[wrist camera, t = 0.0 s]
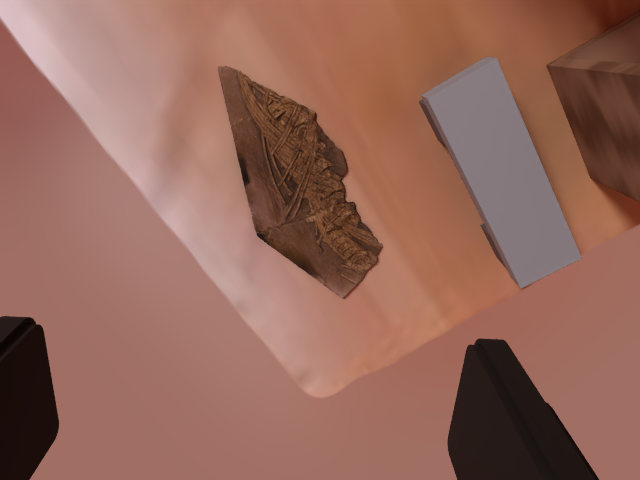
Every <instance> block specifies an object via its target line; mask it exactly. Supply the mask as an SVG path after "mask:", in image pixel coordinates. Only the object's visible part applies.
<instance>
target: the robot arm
mask: <svg viewBox="0 0 640 480" xmlns="http://www.w3.org/2000/svg"><path fill="white" fill-rule="evenodd" d="M58 429H59V420H58V414H57V408H56V402H55V396H54V390H53V384H52V378H51V372H50V366H49V360H48V354H47V348H46V343H45V336H44V331H43V328H42V326H41V325H37V324H36V322H35V321H34V319H32V318H30V317H9V316H4V317H0V480H29V479H30V478H31V476H32V475H33V473H34V472H35V470H36V469H37V467H38V465H39V464H40V462H41V460H42V459H43V458H44V456H45V454H46V453H47V451H48V450H49V448H50V447H51V445H52V444H53V442H54V440H55V438H56V436H57V433H58ZM448 451H449V456H450V458H451V462H452V465H453V467H454V470H455V474H456V477H457V480H599V479H598V477H597V476H596V474H595V472H594V471H593V469H592V468H591V466H590V465H589V463H588V462H587V460H586V459H585V457H584V456H583V454H582V453H581V451H580V450H579V448H578V447H577V445H576V444H575V442H574V440H573V439H572V437H571V436H570V434H569V433H568V431H567V430H566V428H565V427H564V425H563V424H562V422H561V421H560V419H559V418H558V416H557V415H556V413H555V411H554V410H553V408H552V407H551V406H550V405H549V404H548V403H546V402H545V401H544V399H543V398H542V396H541V395H540V393H539V392H538V390H537V389H536V387H535V386H534V384H533V383H532V381H531V380H530V378H529V376H528V375H527V374H526V372H525V370H524V369H523V367H522V366H521V364H520V362H519V361H518V359H517V358H516V356H515V355H514V353H513V352H512V350H511V349H510V347H509V345H508V344H507V343H506V341H504V340H497V339H478V340H476V342H475V345H468V347H467V350H466V354H465V359H464V364H463V368H462V373H461V378H460V383H459V388H458V392H457V398H456V402H455V406H454V411H453V416H452V421H451V425H450V430H449V435H448Z"/></svg>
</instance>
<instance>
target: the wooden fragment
mask: <svg viewBox="0 0 640 480" xmlns="http://www.w3.org/2000/svg"><path fill="white" fill-rule="evenodd" d="M218 72H219V76H220V81H221V85H222V89H223V94H224V98H225V103H226V107H227V112H228V115H229V120H230V124H231V129H232V133H233V137H234V142H235V146H236V151H237V156H238V161H239V164H240V168H241V173H242V177H243V178H242V179H243V181H244V187H245V190H246V194H247V198H248V202H249V207H250V209H251V212H252V215H253V216H252V219H253V223H254V227H255V230H256V232H259V231H263V232H259V233H257V236H258V237H259V238H260V239H262V240H263V241H264V242H266V243H267V244H268V245H270V246H271V247H272V248H274V249H275V250H277V251H278V252H279V253H281V254H282V255H283V256H285V257H286V258H288V259H289V260H290V261H292V262H293V263H295V264H296V265H297V266H299V267H300V268H301V269H303V270H304V271H306V272H307V273H308V274H309V275H311V276H312V277H314V278H315V279H317V280H318V281H319V282H320V283H323V285H324V286H326V287H328V288H329V289H330V290H331V291H332V292H334V293H336V295H338V296H339V297H341V298H342V299H343V298H344V297H345V296H346V295H347V294H348V292H350V291H351V290H352V289H353V288H354V287H355V286H356V285H357V284H358V283H360V282H361V281H362V280H363V278H364V276H365V274H366V271H367V270H368V269H369V268H370V267H371V266H372V265H374V264H375V262H376V261H377V256H376V255H377V253H378V252H379V250H380V249H381V247H382V244H380V243H378V241H377V239H376V238H375V237H374V236H373V235H372V234H371V232H370V230H369V228H368V227H367V226H366V225H365V224H363V223H362V222H361V221H360V218H359V215H358V213H357V211H356V208H355V203H354V202H346V201H345V195H344V193H345V189H344V186H343V183H342V182H341V180H342V177H343V175H344V174H345V172H346V170H347V167H346V162H345V159H344V156H343V154H342V151H341V150H340V149H338V148H337V147H336V146H334V144H333V142H332V141H331V140H330V139H328V137H327V136H326V135H325V134H324V133H323V132H322V129H321V128H320V126H319V125H318V124H317V122H316V113H315V112H313V111H311V110H309V109H308V108H307V107H305V106H303V105H299V104H297V103H296V102H294V101H293V100H292V99H290V98H287V97H285V96H279V95H278V94H277V93H276V92H274V91H272V90H271V89H268V88H265V87H263V86H261V85H259V84H257V83H256V82H252V81H250V80H249V78H248V77H247V76H246V75H245V74H243V73H242V72H241V71H239V70H236V69H233V68H230V67H227V66H224V67H221V66H218Z"/></svg>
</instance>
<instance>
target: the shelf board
mask: <svg viewBox="0 0 640 480" xmlns="http://www.w3.org/2000/svg"><path fill="white" fill-rule="evenodd" d="M421 97H422V99H423V101H424V103H425V105H426V107H427V109H428V111H429V113H430V115H431V117H432V119H433V121H434V123H435V125H436V127H437V129H438V131H439V133H440V135H441V137H442V139H443V141H444V143H445V145H446V147H447V149H448V151H449V153H450V155H451V157H452V159H453V161H454V163H455V165H456V167H457V169H458V171H459V173H460V175H461V177H462V179H463V181H464V183H465V185H466V187H467V189H468V192H469V194H470V196H471V198H472V200H473V202H474V204H475V206H476V208H477V210H478V212H479V214H480V216H481V218H482V220H483V222H484V224H485V226H486V228H487V230H488V232H489V234H490V236H491V238H492V240H493V242H494V244H495V246H496V248H497V250H498V252H499V254H500V256H501V258H502V260H503V262H504V264H505V266H506V268H507V270H508V272H509V274H510V276H511V278H512V279H513V280H514V281H515V282H516V284H517V285H518V286H519V287H520V288H523V287H525V286H527V285H529V284H531V283H533V282H535V281H537V280H539V279H542V278H544V277H546V276H547V275H550V274H552V273H554V272H556V271H558V270H560V269H562V268H564V267H566V266H568V265H570V264H572V263H574V262H576V261H578V260H580V259H582V257H581V255H580V253H579V250H578V248H577V246H576V243H575V241H574V239H573V236H572V234H571V231H570V229H569V227H568V224H567V222H566V220H565V217H564V215H563V213H562V210H561V208H560V206H559V203H558V201H557V199H556V196H555V194H554V192H553V189H552V187H551V185H550V182H549V180H548V178H547V175H546V173H545V170H544V168H543V166H542V163H541V161H540V159H539V156H538V154H537V152H536V149H535V147H534V145H533V142H532V140H531V138H530V135H529V133H528V131H527V128H526V126H525V124H524V121H523V119H522V117H521V114H520V112H519V109H518V107H517V105H516V102H515V100H514V98H513V95H512V93H511V91H510V88H509V86H508V84H507V81H506V79H505V77H504V74H503V72H502V70H501V67H500V65H499V63H498V60H497V58H492V57H485V58H483V59H482V60H480V61H478V62H476V63H475V64H473V65H471V66H470V67H468V68H466V69H465V70H463V71H461V72H460V73H458V74H456V75H454V76H453V77H451V78H449V79H448V80H446V81H444V82H443V83H441V84H439V85H438V86H436V87H434V88H432V89H431V90H429V91H427V92H426V93H424V94H422V95H421Z"/></svg>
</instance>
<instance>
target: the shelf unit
mask: <svg viewBox="0 0 640 480" xmlns="http://www.w3.org/2000/svg"><path fill="white" fill-rule="evenodd" d="M547 68H548V70H549V73H550V76H551V78H552V81H553V83H554V86H555V88H556V91H557V93H558V96H559V99H560V101H561V104H562V106H563V109H564V111H565V114H566V116H567V119H568V121H569V124H570V127H571V129H572V132H573V134H574V137H575V139H576V142H577V144H578V147H579V150H580V152H581V155H582V157H583V160H584V162H585V165H586V167H587V170H588V173H589V175H590V178H592V179H594V180H596V181H598V182H600V183H602V184H604V185H606V186H608V187H610V188H612V189H614V190H616V191H618V192H620V193H622V194H624V195H626V196H628V197H630V198H632V199H634V200H636V201H638V202H640V12H638V13H637V14H635V15H633V16H632V17H630V18H628V19H626V20H625V21H623V22H621V23H619V24H618V25H616V26H614V27H612V28H611V29H609V30H607V31H605V32H604V33H602V34H600V35H598V36H597V37H595V38H593V39H591V40H590V41H588V42H586V43H584V44H583V45H581V46H579V47H577V48H576V49H574V50H572V51H570V52H569V53H567V54H565V55H564V56H562V57H560V58H558V59H557V60H555V61H553V62H551V63H550V64H548V65H547Z"/></svg>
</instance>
